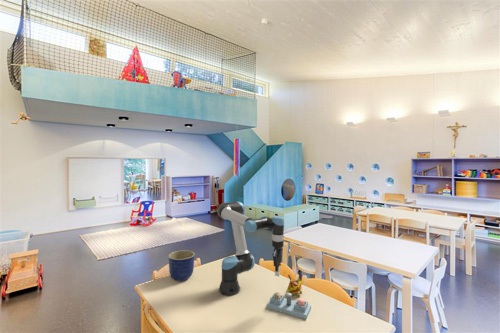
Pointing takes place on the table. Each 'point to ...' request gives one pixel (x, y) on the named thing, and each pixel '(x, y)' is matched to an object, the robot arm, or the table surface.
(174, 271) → the planter
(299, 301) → the knob coral
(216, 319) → the table surface
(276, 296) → the knob beech
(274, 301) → the mount board
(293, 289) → the toy
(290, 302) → the dial post
